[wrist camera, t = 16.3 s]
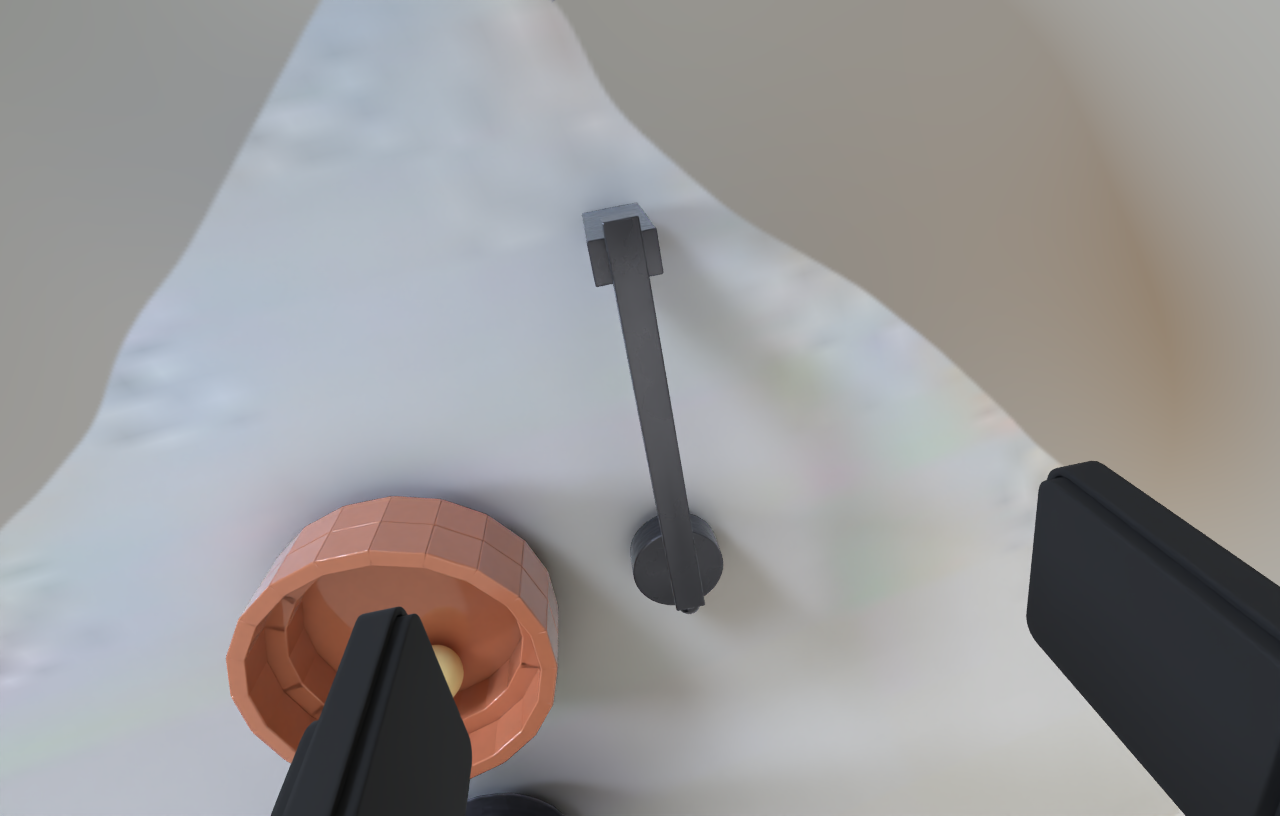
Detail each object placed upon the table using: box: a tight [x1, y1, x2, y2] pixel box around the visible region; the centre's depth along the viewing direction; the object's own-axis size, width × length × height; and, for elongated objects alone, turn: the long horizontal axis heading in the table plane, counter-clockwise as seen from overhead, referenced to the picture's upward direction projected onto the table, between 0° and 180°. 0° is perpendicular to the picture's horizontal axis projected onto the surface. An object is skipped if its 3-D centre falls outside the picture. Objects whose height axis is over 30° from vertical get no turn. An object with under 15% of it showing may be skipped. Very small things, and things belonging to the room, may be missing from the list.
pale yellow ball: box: [432, 645, 464, 697], centre depth 35 cm, size 3×3×3 cm
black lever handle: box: [582, 203, 723, 614], centre depth 29 cm, size 21×5×8 cm, turn 10°
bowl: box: [226, 496, 558, 779], centre depth 34 cm, size 15×15×5 cm
